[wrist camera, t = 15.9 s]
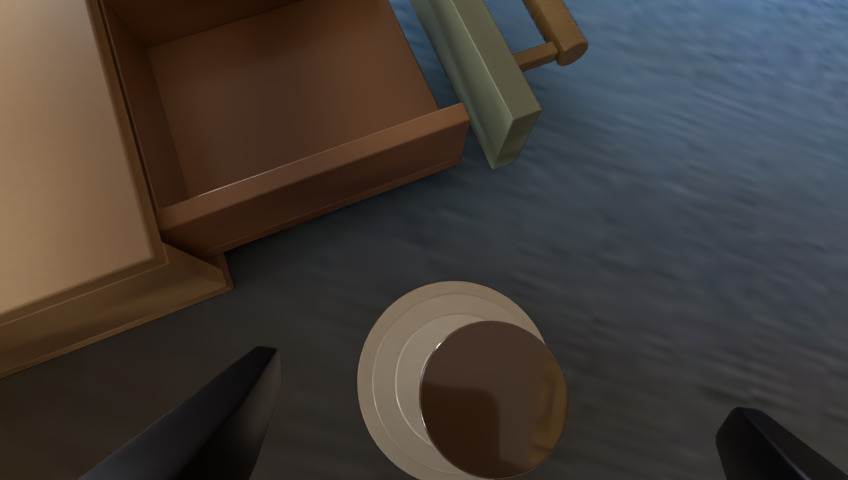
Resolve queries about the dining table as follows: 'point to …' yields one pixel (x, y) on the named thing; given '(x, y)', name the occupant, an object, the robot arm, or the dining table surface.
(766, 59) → the dining table surface
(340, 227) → the dining table surface
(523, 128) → the drawer
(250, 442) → the robot arm
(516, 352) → the cream and brown stand
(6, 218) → the cabinet
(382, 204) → the dining table surface
